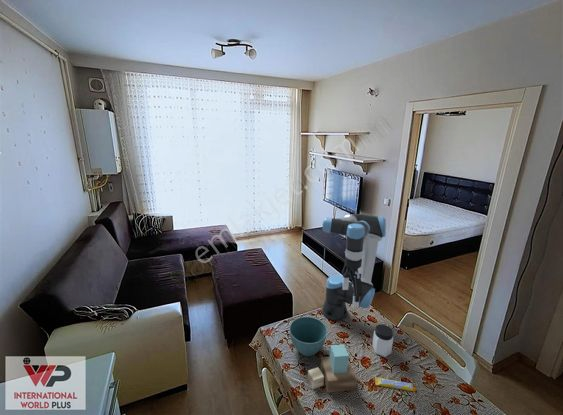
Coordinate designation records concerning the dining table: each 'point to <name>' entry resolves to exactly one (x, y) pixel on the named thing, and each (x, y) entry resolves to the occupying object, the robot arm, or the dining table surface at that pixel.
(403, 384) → the candy bar
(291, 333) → the plant pot
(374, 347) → the jar
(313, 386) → the cream cube
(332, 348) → the teal block
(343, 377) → the walnut block
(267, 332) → the dining table surface
